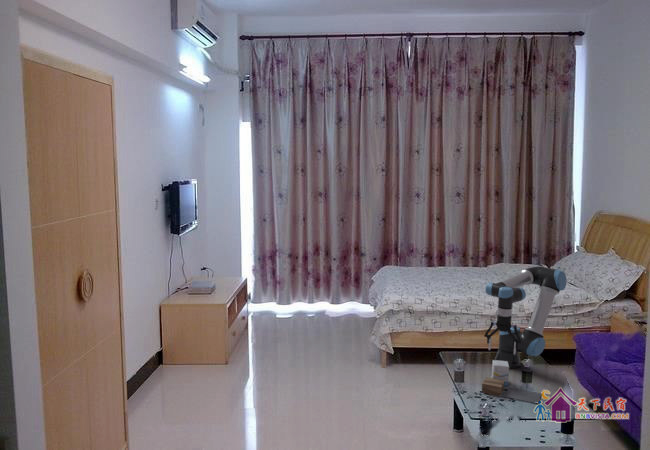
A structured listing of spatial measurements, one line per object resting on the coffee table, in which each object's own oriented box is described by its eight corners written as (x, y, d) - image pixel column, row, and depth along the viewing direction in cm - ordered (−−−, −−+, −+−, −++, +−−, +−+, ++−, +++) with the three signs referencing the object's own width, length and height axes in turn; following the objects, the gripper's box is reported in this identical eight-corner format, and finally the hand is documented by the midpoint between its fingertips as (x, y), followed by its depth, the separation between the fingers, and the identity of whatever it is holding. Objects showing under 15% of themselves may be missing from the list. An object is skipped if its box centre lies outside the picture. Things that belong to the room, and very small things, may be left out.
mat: (509, 387, 322) (509, 386, 322) (541, 394, 314) (541, 393, 314) (504, 397, 310) (504, 396, 310) (537, 404, 302) (537, 403, 302)
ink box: (508, 386, 323) (509, 366, 321) (492, 384, 325) (493, 365, 323) (506, 380, 332) (507, 360, 330) (491, 378, 333) (492, 359, 331)
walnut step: (485, 385, 324) (486, 377, 323) (504, 389, 319) (504, 380, 319) (481, 392, 315) (482, 383, 314) (500, 396, 311) (501, 387, 310)
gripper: (480, 313, 324) (478, 349, 327) (526, 320, 313) (524, 357, 316) (483, 309, 331) (480, 345, 334) (528, 316, 320) (526, 353, 323)
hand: (502, 351), depth 325 cm, fingers open, 13 cm apart
